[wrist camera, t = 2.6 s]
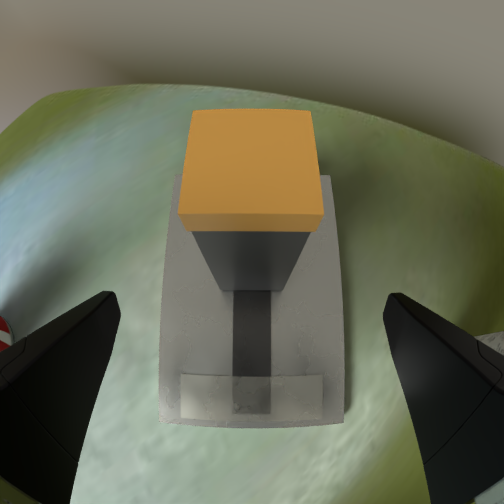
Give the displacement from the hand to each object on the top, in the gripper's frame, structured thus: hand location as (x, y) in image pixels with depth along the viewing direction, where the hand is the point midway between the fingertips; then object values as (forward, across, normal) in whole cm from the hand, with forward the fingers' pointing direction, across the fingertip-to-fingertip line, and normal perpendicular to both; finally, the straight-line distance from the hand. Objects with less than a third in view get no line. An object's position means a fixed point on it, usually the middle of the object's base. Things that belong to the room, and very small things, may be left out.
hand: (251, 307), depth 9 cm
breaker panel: (+10, 0, +6) cm, 11 cm away
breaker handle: (+10, 0, +4) cm, 11 cm away
